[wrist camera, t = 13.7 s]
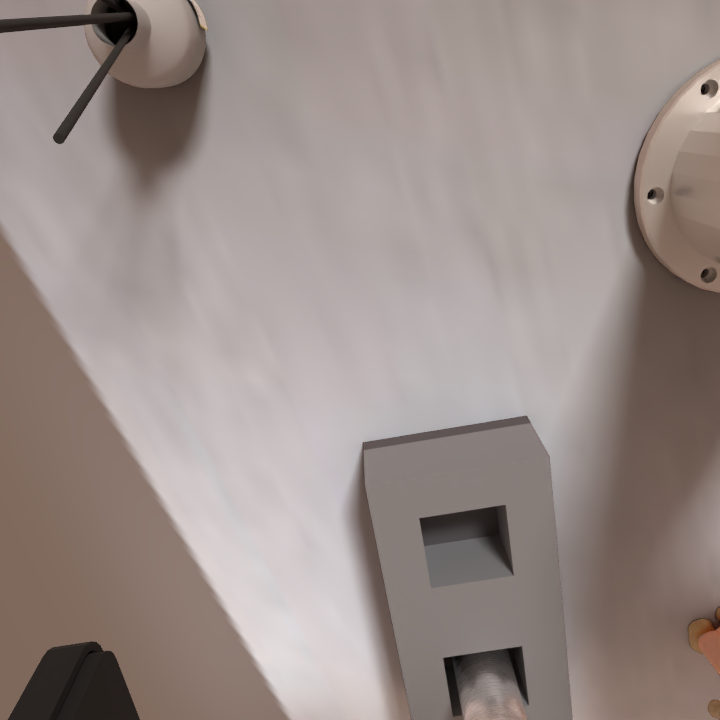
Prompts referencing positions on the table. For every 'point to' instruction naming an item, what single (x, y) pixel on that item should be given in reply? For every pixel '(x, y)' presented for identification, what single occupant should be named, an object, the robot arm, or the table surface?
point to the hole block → (470, 560)
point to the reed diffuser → (131, 44)
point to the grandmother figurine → (707, 649)
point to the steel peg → (488, 686)
